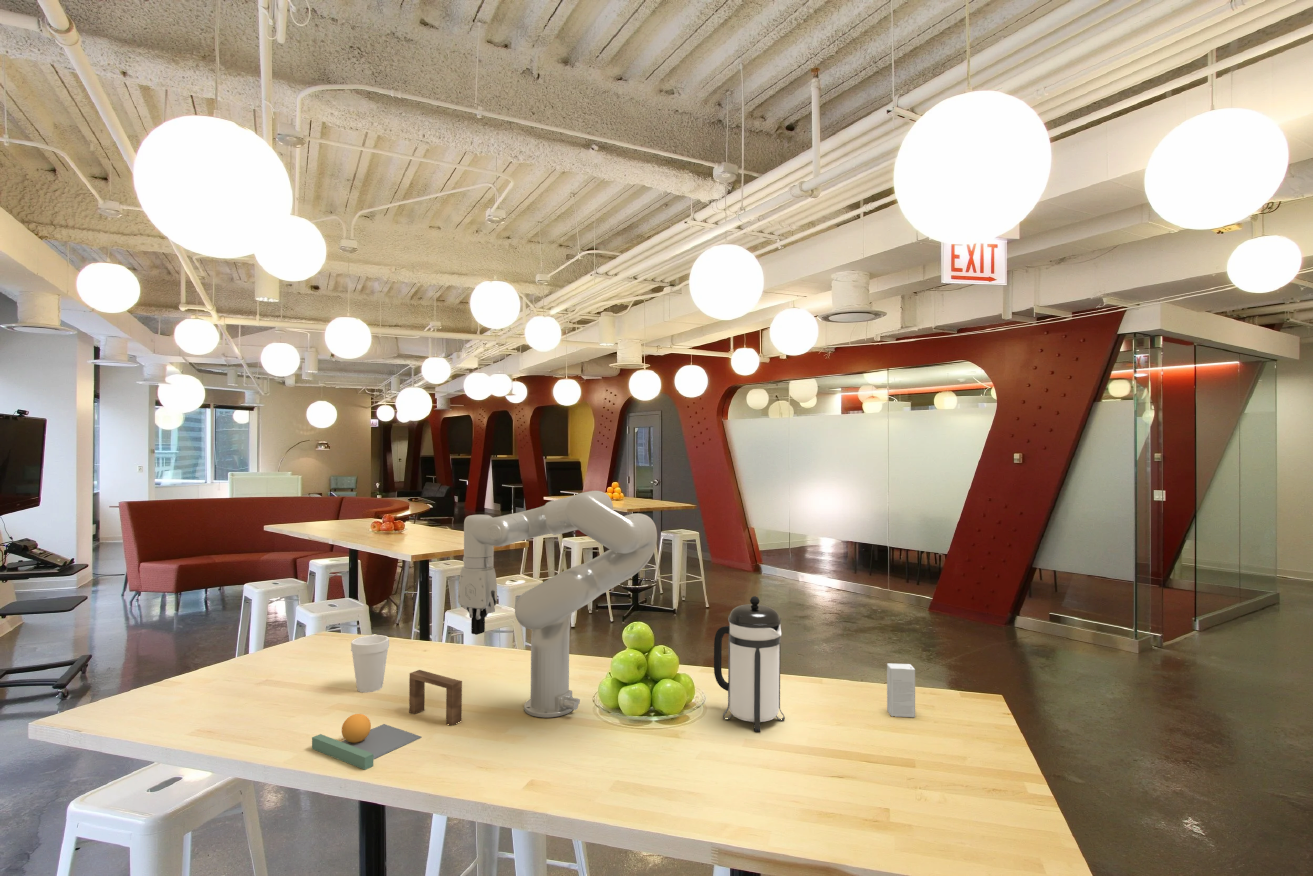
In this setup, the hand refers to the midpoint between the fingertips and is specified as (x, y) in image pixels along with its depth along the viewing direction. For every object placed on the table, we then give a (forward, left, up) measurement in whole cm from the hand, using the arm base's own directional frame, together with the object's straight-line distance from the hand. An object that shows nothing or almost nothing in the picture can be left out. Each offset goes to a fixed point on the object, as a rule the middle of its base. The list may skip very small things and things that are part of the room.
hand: (478, 633), depth 180 cm
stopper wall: (0, +39, -17) cm, 43 cm away
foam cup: (+30, +10, -17) cm, 36 cm away
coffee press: (-65, -26, -17) cm, 72 cm away
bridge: (0, +14, -17) cm, 22 cm away
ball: (+4, +33, -14) cm, 36 cm away
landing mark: (0, +30, -17) cm, 35 cm away
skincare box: (-96, -49, -17) cm, 109 cm away
